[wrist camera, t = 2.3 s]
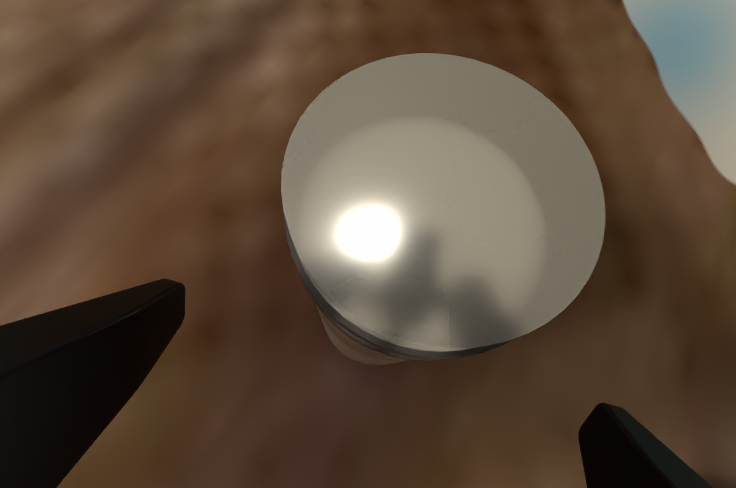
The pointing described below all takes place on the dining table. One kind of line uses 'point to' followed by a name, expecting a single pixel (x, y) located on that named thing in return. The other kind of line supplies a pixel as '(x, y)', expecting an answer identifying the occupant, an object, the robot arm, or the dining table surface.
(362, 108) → the piston
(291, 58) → the dining table surface
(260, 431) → the dining table surface
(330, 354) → the dining table surface
